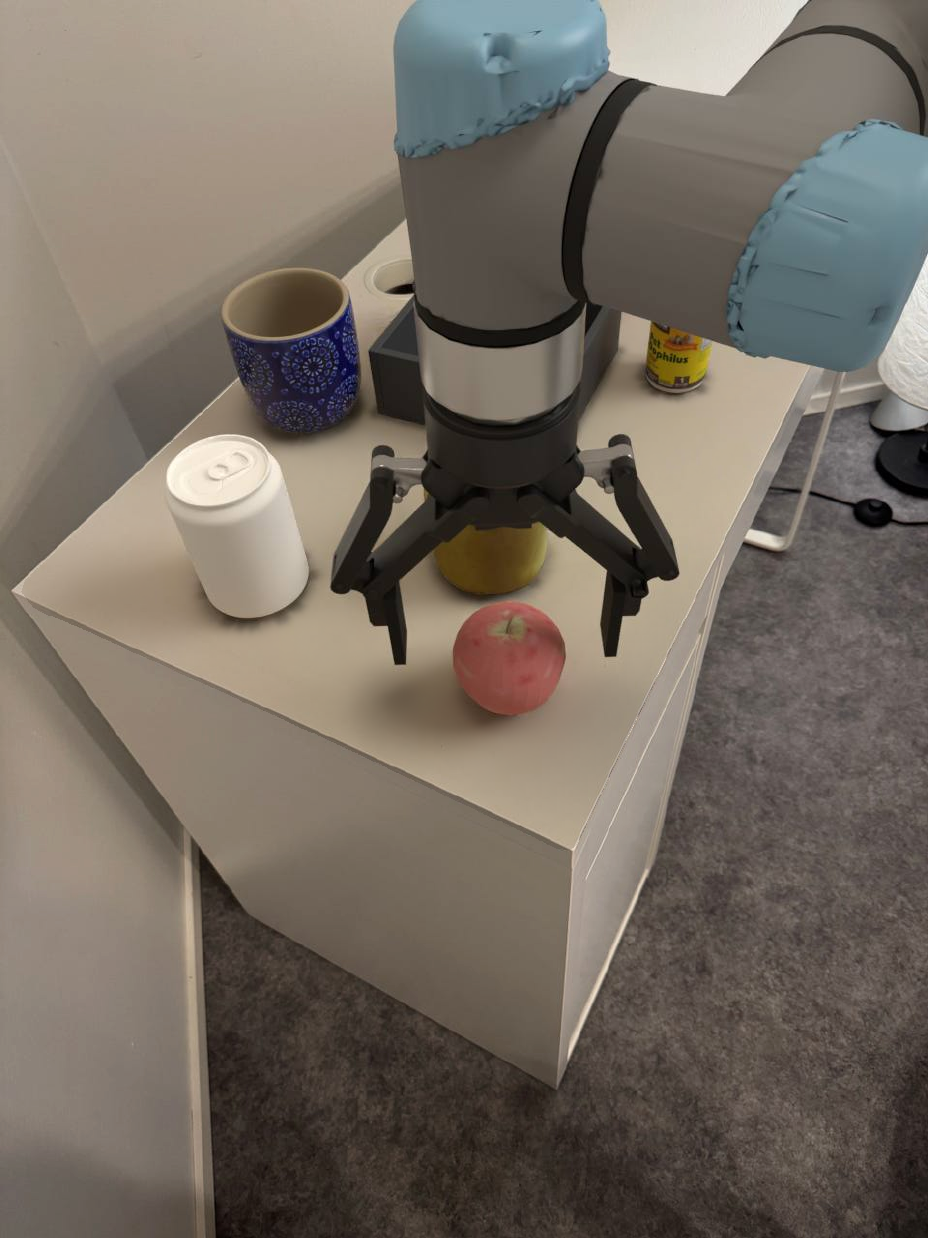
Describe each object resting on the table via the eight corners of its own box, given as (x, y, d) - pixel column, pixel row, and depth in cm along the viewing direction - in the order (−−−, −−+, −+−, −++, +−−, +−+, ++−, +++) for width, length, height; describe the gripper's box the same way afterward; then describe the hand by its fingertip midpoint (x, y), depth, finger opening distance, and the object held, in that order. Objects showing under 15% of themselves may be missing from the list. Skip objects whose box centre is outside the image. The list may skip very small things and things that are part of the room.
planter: (272, 369, 88) (243, 263, 79) (380, 376, 86) (364, 268, 77) (235, 443, 81) (200, 336, 72) (352, 453, 79) (330, 344, 71)
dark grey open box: (618, 349, 87) (624, 285, 81) (557, 458, 78) (560, 394, 72) (452, 314, 92) (447, 252, 86) (377, 413, 83) (367, 350, 77)
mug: (530, 621, 64) (502, 496, 59) (417, 603, 70) (382, 488, 65) (603, 536, 72) (584, 419, 67) (495, 527, 78) (470, 418, 73)
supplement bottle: (632, 381, 84) (643, 280, 76) (665, 352, 86) (679, 251, 78) (684, 404, 81) (701, 303, 73) (716, 373, 84) (736, 272, 76)
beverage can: (188, 582, 71) (136, 469, 62) (272, 529, 74) (235, 414, 65) (244, 641, 67) (198, 529, 58) (331, 582, 70) (301, 467, 61)
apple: (494, 632, 66) (491, 560, 60) (581, 676, 64) (587, 605, 57) (436, 704, 63) (426, 635, 56) (525, 754, 60) (526, 687, 54)
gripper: (751, 318, 44) (685, 592, 61) (247, 341, 45) (319, 606, 62) (787, 418, 40) (705, 684, 56) (225, 442, 40) (310, 699, 57)
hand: (504, 644), depth 59 cm, fingers open, 13 cm apart
